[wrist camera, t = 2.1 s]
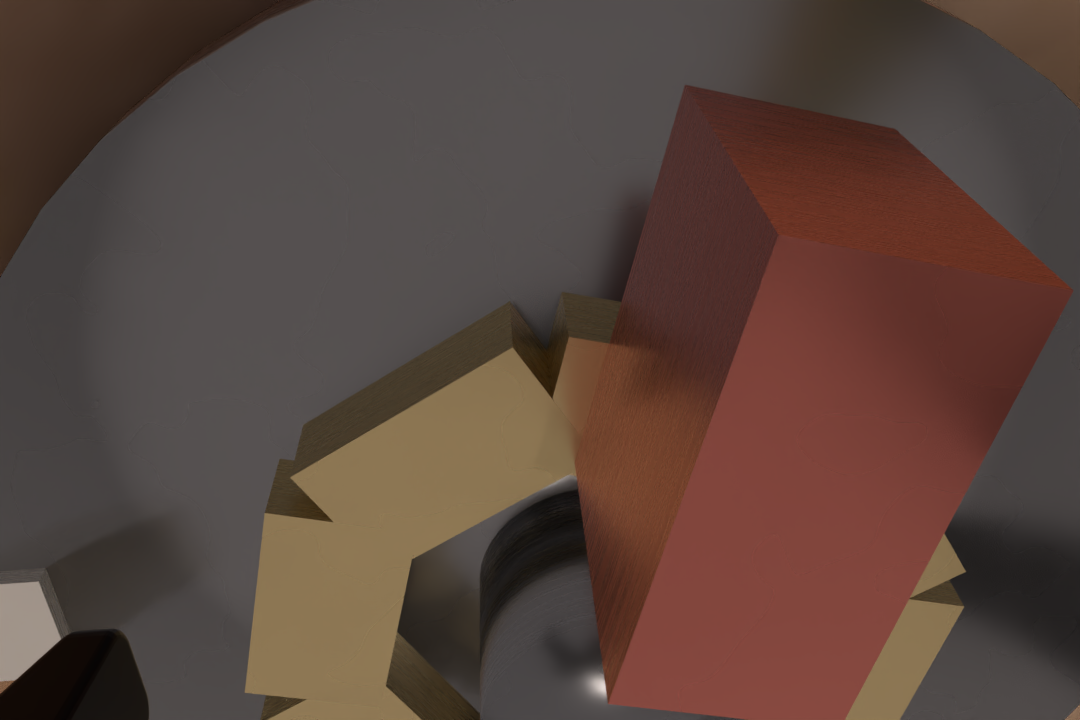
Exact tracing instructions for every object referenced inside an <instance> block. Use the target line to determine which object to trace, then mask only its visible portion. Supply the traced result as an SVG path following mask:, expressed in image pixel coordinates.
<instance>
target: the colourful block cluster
mask: <svg viewBox="0 0 1080 720" xmlns="http://www.w3.org/2000/svg"><path fill="white" fill-rule="evenodd" d="M1073 291H1074V290H1073V289H1072V288H1070V287H1069V286H1068V285H1067V284H1066V283H1065V282H1064V281H1063V280H1062V279H1060V278H1059V277H1058V276H1057V275H1056V274H1055V273H1054V272H1053V271H1052V270H1051V269H1049V268H1048V267H1047V266H1046V265H1045V264H1044V263H1043V262H1042V261H1041V260H1039V259H1038V258H1037V257H1036V256H1035V255H1034V254H1033V253H1032V252H1031V251H1030V250H1028V249H1027V248H1026V247H1025V246H1024V245H1023V244H1022V243H1021V242H1020V241H1019V240H1017V239H1016V238H1015V237H1014V236H1013V235H1012V234H1011V233H1010V232H1009V231H1007V230H1006V229H1005V228H1004V227H1003V226H1002V225H1001V224H1000V223H999V222H998V221H996V220H995V219H994V218H993V217H992V216H991V215H990V214H989V213H988V212H986V211H985V210H984V209H983V208H982V207H981V206H980V205H979V204H978V203H977V202H975V201H974V200H973V199H972V198H971V197H970V196H969V195H968V194H967V193H966V192H964V191H963V190H962V189H961V188H960V187H959V186H958V185H957V184H956V183H954V182H953V181H952V180H951V179H950V178H949V177H948V176H947V175H946V174H945V173H943V172H942V171H941V170H940V169H939V168H938V167H937V166H936V165H935V164H933V163H932V162H931V161H930V160H929V159H928V158H927V157H926V156H925V155H924V154H922V153H921V152H920V151H919V150H918V149H917V148H916V147H915V146H914V145H913V144H911V143H910V142H909V141H908V140H907V139H906V138H905V137H904V136H903V135H901V134H900V133H899V132H898V131H897V130H896V129H894V128H889V127H885V126H880V125H875V124H870V123H866V122H861V121H856V120H851V119H847V118H842V117H837V116H832V115H828V114H823V113H818V112H813V111H809V110H804V109H799V108H794V107H790V106H785V105H780V104H775V103H771V102H766V101H761V100H756V99H752V98H747V97H742V96H737V95H733V94H728V93H723V92H718V91H714V90H709V89H704V88H699V87H695V86H690V85H685V86H684V89H683V93H682V96H681V100H680V103H679V106H678V110H677V113H676V117H675V120H674V124H673V127H672V130H671V134H670V137H669V141H668V144H667V148H666V151H665V154H664V158H663V161H662V165H661V168H660V172H659V175H658V179H657V182H656V185H655V189H654V192H653V196H652V199H651V203H650V206H649V209H648V213H647V216H646V220H645V223H644V227H643V230H642V233H641V237H640V240H639V244H638V247H637V251H636V254H635V257H634V261H633V264H632V268H631V271H630V275H629V278H628V281H627V285H626V288H625V292H624V295H623V299H622V302H618V301H613V300H607V299H601V298H595V297H590V296H584V295H578V294H572V293H567V292H562V293H561V297H560V300H559V304H558V308H557V312H556V316H555V320H554V324H553V328H552V331H551V335H550V339H549V343H548V347H547V350H546V349H545V348H544V346H543V345H542V344H541V342H540V341H539V340H538V338H537V337H536V336H535V334H534V333H533V332H532V330H531V329H530V328H529V326H528V325H527V324H526V322H525V321H524V320H523V318H522V317H521V316H520V314H519V313H518V312H517V310H516V309H515V308H514V306H513V305H512V304H511V302H510V301H509V302H508V303H506V304H504V305H503V306H501V307H499V308H498V309H496V310H494V311H493V312H491V313H489V314H488V315H486V316H484V317H483V318H481V319H479V320H478V321H476V322H474V323H473V324H471V325H469V326H468V327H466V328H464V329H462V330H461V331H459V332H457V333H456V334H454V335H452V336H451V337H449V338H447V339H446V340H444V341H442V342H441V343H439V344H437V345H436V346H434V347H432V348H431V349H429V350H427V351H426V352H424V353H422V354H421V355H419V356H417V357H416V358H414V359H412V360H411V361H409V362H407V363H406V364H404V365H402V366H401V367H399V368H397V369H396V370H394V371H392V372H391V373H389V374H387V375H385V376H384V377H382V378H380V379H379V380H377V381H375V382H374V383H372V384H370V385H369V386H367V387H365V388H364V389H362V390H360V391H359V392H357V393H355V394H354V395H352V396H350V397H349V398H347V399H345V400H344V401H342V402H340V403H339V404H337V405H335V406H334V407H332V408H330V409H329V410H327V411H325V412H324V413H322V414H320V415H319V416H317V417H315V418H314V419H312V420H310V421H308V422H307V423H305V424H303V428H302V432H301V436H300V440H299V444H298V448H297V452H296V456H295V460H294V461H293V460H286V459H279V463H278V466H277V470H276V474H275V477H274V481H273V485H272V488H271V492H270V495H269V499H268V503H267V506H266V510H265V514H264V523H263V532H262V542H261V551H260V560H259V569H258V578H257V587H256V596H255V605H254V614H253V623H252V632H251V641H250V650H249V659H248V668H247V677H246V686H245V693H252V694H261V695H266V697H265V701H264V706H263V710H262V715H261V719H260V720H480V713H479V712H478V711H477V710H476V709H475V708H474V707H473V706H472V705H471V704H470V703H469V702H468V701H467V700H466V699H465V698H464V697H463V696H462V695H461V694H460V693H459V692H457V691H456V690H455V689H454V688H453V687H452V686H451V685H450V684H449V683H448V682H447V681H446V680H445V679H444V678H443V677H442V676H441V675H440V674H439V673H438V672H437V671H436V670H435V669H434V668H433V667H432V666H431V665H430V664H429V663H428V662H427V661H426V660H425V659H424V658H423V657H422V656H421V655H420V654H419V653H418V652H417V651H416V650H415V649H414V648H413V647H412V646H411V645H410V644H409V643H408V642H407V641H406V640H405V639H404V638H403V637H402V636H401V635H400V634H399V633H398V632H397V629H398V624H399V619H400V614H401V610H402V605H403V600H404V595H405V590H406V585H407V581H408V576H409V571H410V566H411V561H412V559H413V558H415V557H417V556H419V555H421V554H423V553H425V552H426V551H428V550H430V549H432V548H434V547H436V546H437V545H439V544H441V543H443V542H445V541H447V540H449V539H450V538H452V537H454V536H456V535H458V534H460V533H461V532H463V531H465V530H467V529H469V528H471V527H473V526H474V525H476V524H478V523H480V522H482V521H484V520H486V519H487V518H489V517H491V516H493V515H495V514H497V513H498V512H500V511H502V510H504V509H506V508H508V507H510V506H511V505H513V504H515V503H517V502H519V501H521V500H522V499H524V498H526V497H528V496H530V495H532V494H534V493H535V492H537V491H539V490H541V489H543V488H545V487H546V486H548V485H550V484H552V483H554V482H556V481H558V480H559V479H561V478H563V477H565V476H567V475H573V476H576V477H577V485H578V492H579V499H580V506H581V513H582V520H583V528H584V535H585V542H586V549H587V556H588V564H589V571H590V578H591V585H592V592H593V599H594V607H595V614H596V621H597V628H598V635H599V643H600V650H601V657H602V664H603V671H604V678H605V686H606V693H607V700H608V704H612V705H621V706H630V707H639V708H648V709H657V710H666V711H675V712H684V713H693V714H702V715H711V716H720V717H729V718H738V719H745V720H900V718H901V717H902V715H903V713H904V711H905V710H906V708H907V706H908V704H909V703H910V701H911V699H912V697H913V696H914V694H915V692H916V690H917V689H918V687H919V685H920V683H921V682H922V680H923V678H924V676H925V675H926V673H927V671H928V669H929V668H930V666H931V664H932V662H933V661H934V659H935V657H936V655H937V654H938V652H939V650H940V648H941V647H942V645H943V643H944V641H945V640H946V638H947V636H948V634H949V633H950V631H951V629H952V627H953V626H954V624H955V622H956V620H957V619H958V617H959V615H960V613H961V612H962V610H963V608H964V605H963V603H962V602H961V600H960V598H959V596H958V594H957V593H956V591H955V589H954V587H953V586H952V584H951V582H950V579H952V578H954V577H956V576H958V575H960V574H962V573H965V572H966V571H965V569H964V567H963V566H962V564H961V562H960V560H959V558H958V557H957V555H956V553H955V551H954V550H953V548H952V546H951V544H950V543H949V541H948V539H947V537H946V535H945V534H944V533H945V531H946V529H947V527H948V525H949V523H950V522H951V520H952V518H953V516H954V514H955V512H956V510H957V508H958V507H959V505H960V503H961V501H962V499H963V497H964V495H965V493H966V492H967V490H968V488H969V486H970V484H971V482H972V480H973V478H974V477H975V475H976V473H977V471H978V469H979V467H980V465H981V463H982V462H983V460H984V458H985V456H986V454H987V452H988V450H989V448H990V447H991V445H992V443H993V441H994V439H995V437H996V435H997V433H998V432H999V430H1000V428H1001V426H1002V424H1003V422H1004V420H1005V418H1006V417H1007V415H1008V413H1009V411H1010V409H1011V407H1012V405H1013V403H1014V402H1015V400H1016V398H1017V396H1018V394H1019V392H1020V390H1021V388H1022V387H1023V385H1024V383H1025V381H1026V379H1027V377H1028V375H1029V373H1030V372H1031V370H1032V368H1033V366H1034V364H1035V362H1036V360H1037V358H1038V357H1039V355H1040V353H1041V351H1042V349H1043V347H1044V345H1045V343H1046V342H1047V340H1048V338H1049V336H1050V334H1051V332H1052V330H1053V328H1054V327H1055V325H1056V323H1057V321H1058V319H1059V317H1060V315H1061V313H1062V312H1063V310H1064V308H1065V306H1066V304H1067V302H1068V300H1069V298H1070V297H1071V295H1072V293H1073Z"/></svg>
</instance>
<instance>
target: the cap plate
mask: <svg viewBox="0 0 1080 720" xmlns="http://www.w3.org/2000/svg"><path fill="white" fill-rule="evenodd" d="M685 85H690V86H695V87H699V88H704V89H709V90H714V91H718V92H723V93H728V94H733V95H737V96H742V97H747V98H752V99H756V100H761V101H766V102H771V103H775V104H780V105H785V106H790V107H794V108H799V109H804V110H809V111H813V112H818V113H823V114H828V115H832V116H837V117H842V118H847V119H851V120H856V121H861V122H866V123H870V124H875V125H880V126H885V127H889V128H894V129H896V130H897V131H898V132H899V133H900V134H901V135H903V136H904V137H905V138H906V139H907V140H908V141H909V142H910V143H911V144H913V145H914V146H915V147H916V148H917V149H918V150H919V151H920V152H921V153H922V154H924V155H925V156H926V157H927V158H928V159H929V160H930V161H931V162H932V163H933V164H935V165H936V166H937V167H938V168H939V169H940V170H941V171H942V172H943V173H945V174H946V175H947V176H948V177H949V178H950V179H951V180H952V181H953V182H954V183H956V184H957V185H958V186H959V187H960V188H961V189H962V190H963V191H964V192H966V193H967V194H968V195H969V196H970V197H971V198H972V199H973V200H974V201H975V202H977V203H978V204H979V205H980V206H981V207H982V208H983V209H984V210H985V211H986V212H988V213H989V214H990V215H991V216H992V217H993V218H994V219H995V220H996V221H998V222H999V223H1000V224H1001V225H1002V226H1003V227H1004V228H1005V229H1006V230H1007V231H1009V232H1010V233H1011V234H1012V235H1013V236H1014V237H1015V238H1016V239H1017V240H1019V241H1020V242H1021V243H1022V244H1023V245H1024V246H1025V247H1026V248H1027V249H1028V250H1030V251H1031V252H1032V253H1033V254H1034V255H1035V256H1036V257H1037V258H1038V259H1039V260H1041V261H1042V262H1043V263H1044V264H1045V265H1046V266H1047V267H1048V268H1049V269H1051V270H1052V271H1053V272H1054V273H1055V274H1056V275H1057V276H1058V277H1059V278H1060V279H1062V280H1063V281H1064V282H1065V283H1066V284H1067V285H1068V286H1069V287H1070V288H1072V289H1073V290H1074V291H1073V293H1072V295H1071V297H1070V298H1069V300H1068V302H1067V304H1066V306H1065V308H1064V310H1063V312H1062V313H1061V315H1060V317H1059V319H1058V321H1057V323H1056V325H1055V327H1054V328H1053V330H1052V332H1051V334H1050V336H1049V338H1048V340H1047V342H1046V343H1045V345H1044V347H1043V349H1042V351H1041V353H1040V355H1039V357H1038V358H1037V360H1036V362H1035V364H1034V366H1033V368H1032V370H1031V372H1030V373H1029V375H1028V377H1027V379H1026V381H1025V383H1024V385H1023V387H1022V388H1021V390H1020V392H1019V394H1018V396H1017V398H1016V400H1015V402H1014V403H1013V405H1012V407H1011V409H1010V411H1009V413H1008V415H1007V417H1006V418H1005V420H1004V422H1003V424H1002V426H1001V428H1000V430H999V432H998V433H997V435H996V437H995V439H994V441H993V443H992V445H991V447H990V448H989V450H988V452H987V454H986V456H985V458H984V460H983V462H982V463H981V465H980V467H979V469H978V471H977V473H976V475H975V477H974V478H973V480H972V482H971V484H970V486H969V488H968V490H967V492H966V493H965V495H964V497H963V499H962V501H961V503H960V505H959V507H958V508H957V510H956V512H955V514H954V516H953V518H952V520H951V522H950V523H949V525H948V527H947V529H946V531H945V533H944V534H945V535H946V537H947V539H948V541H949V543H950V544H951V546H952V548H953V550H954V551H955V553H956V555H957V557H958V558H959V560H960V562H961V564H962V566H963V567H964V569H965V571H966V572H965V573H962V574H960V575H958V576H956V577H954V578H952V579H950V582H951V584H952V586H953V587H954V589H955V591H956V593H957V594H958V596H959V598H960V600H961V602H962V603H963V605H964V608H963V610H962V612H961V613H960V615H959V617H958V619H957V620H956V622H955V624H954V626H953V627H952V629H951V631H950V633H949V634H948V636H947V638H946V640H945V641H944V643H943V645H942V647H941V648H940V650H939V652H938V654H937V655H936V657H935V659H934V661H933V662H932V664H931V666H930V668H929V669H928V671H927V673H926V675H925V676H924V678H923V680H922V682H921V683H920V685H919V687H918V689H917V690H916V692H915V694H914V696H913V697H912V699H911V701H910V703H909V704H908V706H907V708H906V710H905V711H904V713H903V715H902V717H901V718H900V720H1065V719H1066V718H1067V717H1068V716H1069V715H1070V714H1071V713H1072V712H1073V711H1074V710H1075V709H1076V707H1077V706H1078V705H1079V704H1080V109H1079V108H1078V107H1077V106H1076V105H1075V104H1074V103H1073V102H1072V101H1071V100H1070V99H1069V98H1068V97H1067V96H1066V95H1065V94H1064V93H1063V92H1062V91H1061V90H1060V89H1059V88H1058V87H1057V86H1056V85H1055V84H1054V83H1053V82H1051V81H1050V80H1048V79H1047V78H1046V77H1044V76H1043V75H1041V74H1040V73H1039V72H1037V71H1036V70H1035V69H1033V68H1032V67H1030V66H1029V65H1028V64H1026V63H1025V62H1023V61H1022V60H1021V59H1019V58H1018V57H1016V56H1015V55H1014V54H1012V53H1011V52H1009V51H1008V50H1007V49H1005V48H1004V47H1002V46H1001V45H1000V44H998V43H997V42H995V41H994V40H993V39H991V38H990V37H989V36H987V35H986V34H984V33H983V32H982V31H980V30H978V29H977V28H975V27H973V26H971V25H969V24H968V23H966V22H964V21H962V20H960V19H959V18H957V17H955V16H953V15H952V14H950V13H948V12H946V11H944V10H943V9H941V8H939V7H937V6H935V5H933V4H931V3H929V2H927V1H925V0H281V1H279V2H277V3H276V4H274V5H273V6H271V7H269V8H268V9H266V10H264V11H263V12H261V13H260V14H258V15H256V16H255V17H253V18H251V19H250V20H248V21H247V22H245V23H243V24H242V25H240V26H239V27H237V28H235V29H234V30H232V31H230V32H229V33H227V34H226V35H224V36H222V37H221V38H219V39H218V40H216V41H214V42H213V43H211V44H209V45H208V46H206V47H205V48H203V49H201V50H200V51H198V52H197V53H196V54H195V55H193V56H192V57H191V58H190V59H189V60H188V61H186V62H185V63H184V64H183V65H182V66H180V67H179V68H178V69H177V70H176V71H175V72H173V73H172V74H171V75H170V76H169V77H168V78H166V79H165V80H164V81H163V82H162V83H160V84H159V85H158V86H157V87H156V88H155V89H153V90H152V91H151V92H150V93H149V94H148V95H146V96H145V97H144V98H143V99H142V100H140V101H139V102H138V103H137V104H136V105H135V106H133V107H132V108H131V109H130V110H129V111H128V112H127V113H126V114H125V115H124V116H123V117H122V118H121V119H120V120H119V121H118V122H117V123H116V124H115V125H114V127H113V128H112V129H111V130H110V131H109V132H108V133H107V134H106V135H105V136H104V137H103V138H102V139H101V140H100V141H99V142H98V144H97V145H96V146H95V147H94V148H93V149H92V151H91V152H90V153H89V154H88V155H87V156H86V158H85V159H84V160H83V161H82V162H81V163H80V165H79V166H78V167H77V168H76V169H75V170H74V172H73V173H72V174H71V175H70V176H69V177H68V179H67V180H66V181H65V182H64V183H63V184H62V186H61V187H60V188H59V189H58V190H57V191H56V193H55V194H54V195H53V196H52V197H51V198H50V200H49V201H48V202H47V203H46V204H45V205H44V207H43V208H42V209H41V211H40V212H39V214H38V216H37V217H36V219H35V221H34V222H33V224H32V226H31V227H30V229H29V231H28V232H27V234H26V236H25V237H24V239H23V241H22V242H21V244H20V246H19V247H18V249H17V251H16V252H15V254H14V255H13V257H12V259H11V260H10V262H9V264H8V265H7V267H6V269H5V270H4V272H3V274H2V275H1V277H0V681H10V680H16V679H17V678H18V677H20V676H21V675H22V674H23V673H24V672H25V671H26V670H27V669H28V668H30V667H31V666H32V665H33V664H34V663H35V662H36V661H37V660H38V659H40V658H41V657H42V656H43V655H44V654H45V653H46V652H47V651H48V650H50V649H51V648H52V647H53V646H54V645H55V644H56V643H57V642H58V641H60V640H61V639H62V638H63V637H65V636H66V635H68V634H70V633H72V632H75V631H83V630H97V629H111V628H114V629H118V630H121V631H122V632H123V633H124V634H125V635H126V637H127V639H128V641H129V643H130V646H131V649H132V652H133V655H134V657H135V660H136V663H137V666H138V669H139V672H140V675H141V678H142V681H143V684H144V686H145V689H146V692H147V696H148V701H149V720H260V719H261V715H262V710H263V706H264V701H265V697H266V695H261V694H252V693H245V686H246V677H247V668H248V659H249V650H250V641H251V632H252V623H253V614H254V605H255V596H256V587H257V578H258V569H259V560H260V551H261V542H262V532H263V523H264V514H265V510H266V506H267V503H268V499H269V495H270V492H271V488H272V485H273V481H274V477H275V474H276V470H277V466H278V463H279V459H286V460H293V461H294V460H295V456H296V452H297V448H298V444H299V440H300V436H301V432H302V428H303V424H305V423H307V422H308V421H310V420H312V419H314V418H315V417H317V416H319V415H320V414H322V413H324V412H325V411H327V410H329V409H330V408H332V407H334V406H335V405H337V404H339V403H340V402H342V401H344V400H345V399H347V398H349V397H350V396H352V395H354V394H355V393H357V392H359V391H360V390H362V389H364V388H365V387H367V386H369V385H370V384H372V383H374V382H375V381H377V380H379V379H380V378H382V377H384V376H385V375H387V374H389V373H391V372H392V371H394V370H396V369H397V368H399V367H401V366H402V365H404V364H406V363H407V362H409V361H411V360H412V359H414V358H416V357H417V356H419V355H421V354H422V353H424V352H426V351H427V350H429V349H431V348H432V347H434V346H436V345H437V344H439V343H441V342H442V341H444V340H446V339H447V338H449V337H451V336H452V335H454V334H456V333H457V332H459V331H461V330H462V329H464V328H466V327H468V326H469V325H471V324H473V323H474V322H476V321H478V320H479V319H481V318H483V317H484V316H486V315H488V314H489V313H491V312H493V311H494V310H496V309H498V308H499V307H501V306H503V305H504V304H506V303H508V302H509V301H510V302H511V304H512V305H513V306H514V308H515V309H516V310H517V312H518V313H519V314H520V316H521V317H522V318H523V320H524V321H525V322H526V324H527V325H528V326H529V328H530V329H531V330H532V332H533V333H534V334H535V336H536V337H537V338H538V340H539V341H540V342H541V344H542V345H543V346H544V348H545V349H546V350H547V347H548V343H549V339H550V335H551V331H552V328H553V324H554V320H555V316H556V312H557V308H558V304H559V300H560V297H561V293H562V292H567V293H572V294H578V295H584V296H590V297H595V298H601V299H607V300H613V301H618V302H622V299H623V295H624V292H625V288H626V285H627V281H628V278H629V275H630V271H631V268H632V264H633V261H634V257H635V254H636V251H637V247H638V244H639V240H640V237H641V233H642V230H643V227H644V223H645V220H646V216H647V213H648V209H649V206H650V203H651V199H652V196H653V192H654V189H655V185H656V182H657V179H658V175H659V172H660V168H661V165H662V161H663V158H664V154H665V151H666V148H667V144H668V141H669V137H670V134H671V130H672V127H673V124H674V120H675V117H676V113H677V110H678V106H679V103H680V100H681V96H682V93H683V89H684V86H685ZM397 632H398V633H399V634H400V635H401V636H402V637H403V638H404V639H405V640H406V641H407V642H408V643H409V644H410V645H411V646H412V647H413V648H414V649H415V650H416V651H417V652H418V653H419V654H420V655H421V656H422V657H423V658H424V659H425V660H426V661H427V662H428V663H429V664H430V665H431V666H432V667H433V668H434V669H435V670H436V671H437V672H438V673H439V674H440V675H441V676H442V677H443V678H444V679H445V680H446V681H447V682H448V683H449V684H450V685H451V686H452V687H453V688H454V689H455V690H456V691H457V692H459V693H460V694H461V695H462V696H463V697H464V698H465V699H466V700H467V701H468V702H469V703H470V704H471V705H472V706H473V707H474V708H475V709H476V710H477V711H478V712H479V713H480V720H745V719H738V718H729V717H720V716H711V715H702V714H693V713H684V712H675V711H666V710H657V709H648V708H639V707H630V706H621V705H612V704H608V700H607V693H606V686H605V678H604V671H603V664H602V657H601V650H600V643H599V635H598V628H597V621H596V614H595V607H594V599H593V592H592V585H591V578H590V571H589V564H588V556H587V549H586V542H585V535H584V528H583V520H582V513H581V506H580V499H579V492H578V485H577V477H576V476H573V475H567V476H565V477H563V478H561V479H559V480H558V481H556V482H554V483H552V484H550V485H548V486H546V487H545V488H543V489H541V490H539V491H537V492H535V493H534V494H532V495H530V496H528V497H526V498H524V499H522V500H521V501H519V502H517V503H515V504H513V505H511V506H510V507H508V508H506V509H504V510H502V511H500V512H498V513H497V514H495V515H493V516H491V517H489V518H487V519H486V520H484V521H482V522H480V523H478V524H476V525H474V526H473V527H471V528H469V529H467V530H465V531H463V532H461V533H460V534H458V535H456V536H454V537H452V538H450V539H449V540H447V541H445V542H443V543H441V544H439V545H437V546H436V547H434V548H432V549H430V550H428V551H426V552H425V553H423V554H421V555H419V556H417V557H415V558H413V559H412V561H411V566H410V571H409V576H408V581H407V585H406V590H405V595H404V600H403V605H402V610H401V614H400V619H399V624H398V629H397Z"/></svg>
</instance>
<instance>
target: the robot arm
mask: <svg viewBox="0 0 1080 720" xmlns="http://www.w3.org/2000/svg"><path fill="white" fill-rule="evenodd" d="M0 720H149V701H148V696H147V692H146V689H145V686H144V684H143V681H142V678H141V675H140V672H139V669H138V666H137V663H136V660H135V657H134V655H133V652H132V649H131V646H130V643H129V641H128V639H127V637H126V635H125V634H124V633H123V632H122V631H121V630H118V629H114V628H111V629H97V630H83V631H75V632H72V633H70V634H68V635H66V636H65V637H63V638H62V639H61V640H60V641H58V642H57V643H56V644H55V645H54V646H53V647H52V648H51V649H50V650H48V651H47V652H46V653H45V654H44V655H43V656H42V657H41V658H40V659H38V660H37V661H36V662H35V663H34V664H33V665H32V666H31V667H30V668H28V669H27V670H26V671H25V672H24V673H23V674H22V675H21V676H20V677H18V678H17V679H16V680H15V681H14V682H13V683H12V684H11V685H10V686H8V687H7V688H6V689H5V690H4V691H3V692H2V693H1V694H0Z"/></svg>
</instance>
